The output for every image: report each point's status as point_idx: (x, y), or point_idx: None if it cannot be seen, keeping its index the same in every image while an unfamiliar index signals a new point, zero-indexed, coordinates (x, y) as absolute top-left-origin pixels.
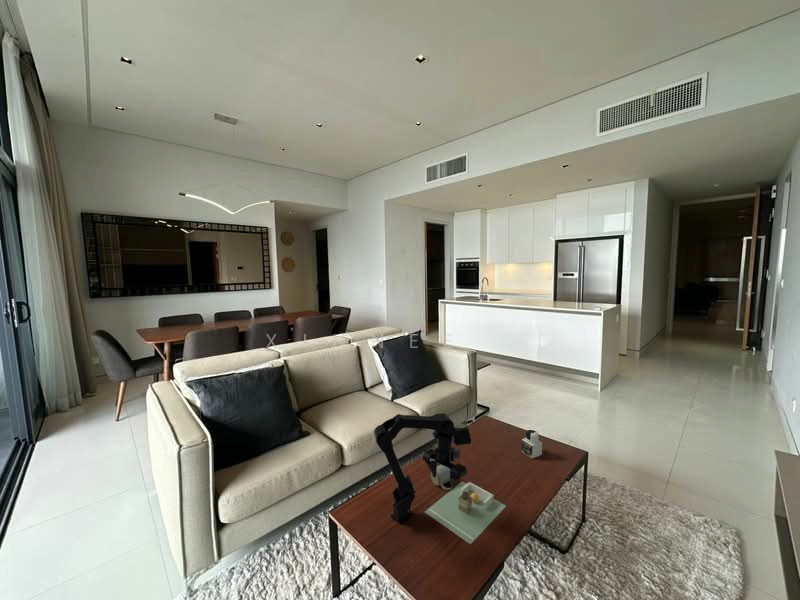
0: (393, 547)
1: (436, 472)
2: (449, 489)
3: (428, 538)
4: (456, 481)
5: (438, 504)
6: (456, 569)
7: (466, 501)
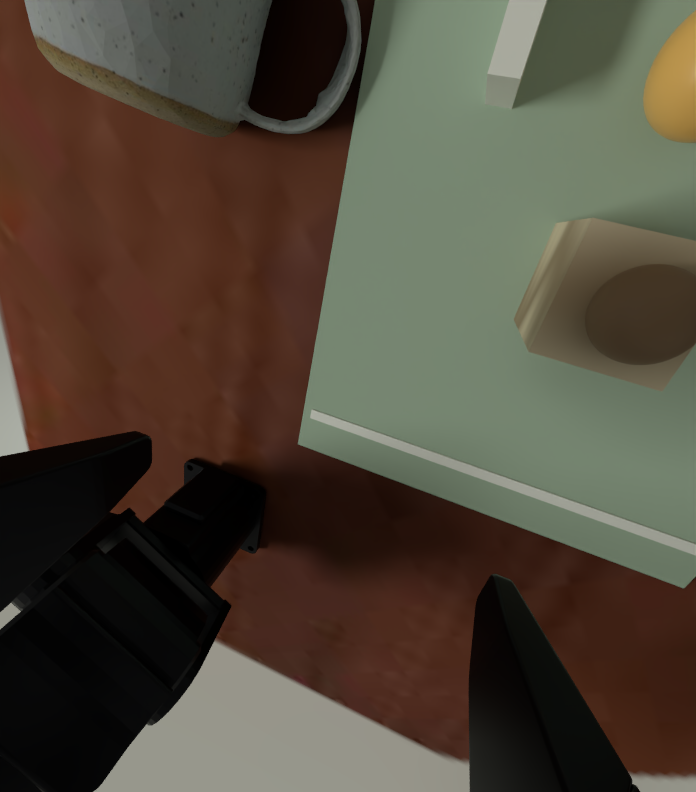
0: (297, 636)
1: (85, 462)
2: (342, 99)
3: (405, 582)
4: (611, 745)
5: (342, 345)
6: (607, 700)
7: (657, 371)
